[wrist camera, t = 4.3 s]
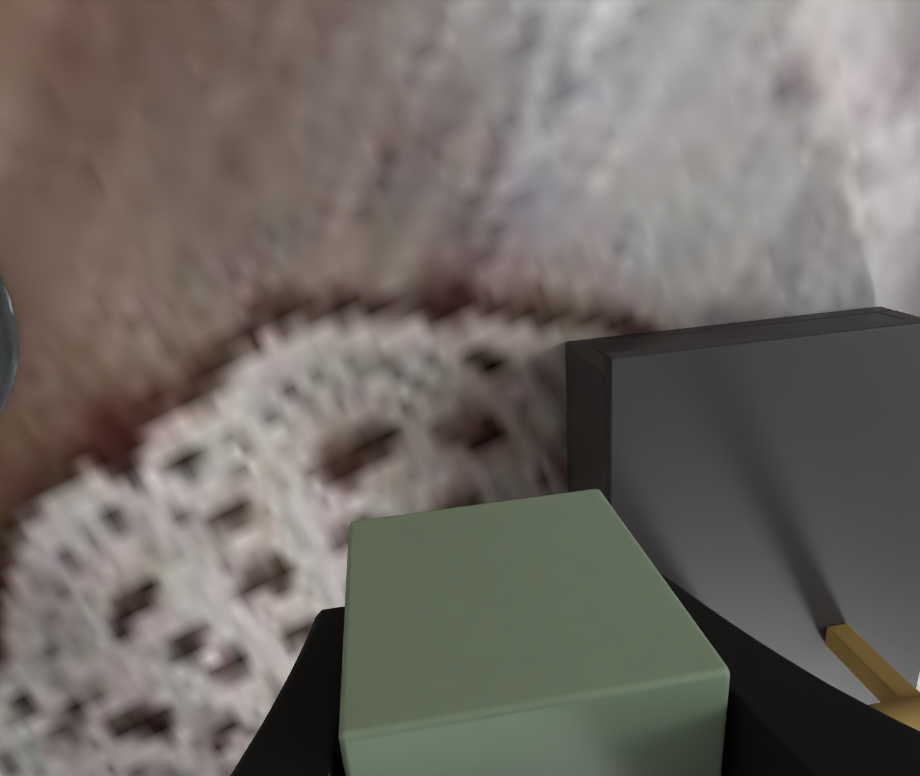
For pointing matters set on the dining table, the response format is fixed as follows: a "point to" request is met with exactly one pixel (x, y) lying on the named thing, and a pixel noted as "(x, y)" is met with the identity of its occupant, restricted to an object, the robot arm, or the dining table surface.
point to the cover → (784, 492)
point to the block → (521, 648)
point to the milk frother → (7, 345)
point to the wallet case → (589, 353)
